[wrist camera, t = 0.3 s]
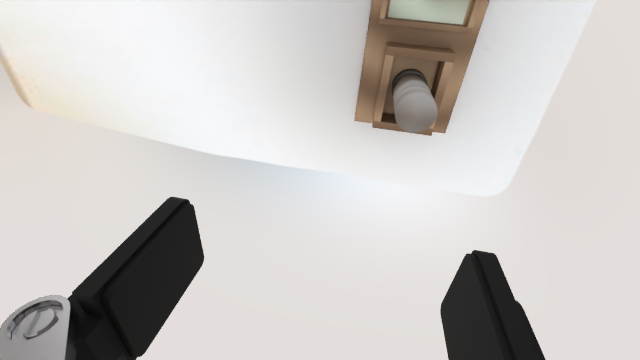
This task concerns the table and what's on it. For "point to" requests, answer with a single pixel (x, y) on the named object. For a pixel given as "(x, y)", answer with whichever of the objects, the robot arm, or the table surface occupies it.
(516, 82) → the table surface
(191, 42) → the table surface
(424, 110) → the holder
